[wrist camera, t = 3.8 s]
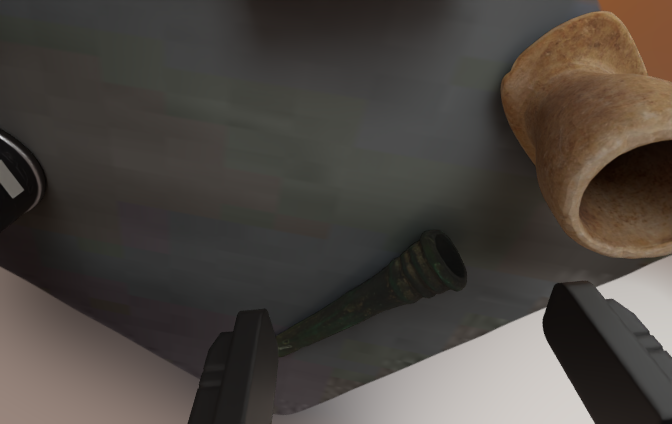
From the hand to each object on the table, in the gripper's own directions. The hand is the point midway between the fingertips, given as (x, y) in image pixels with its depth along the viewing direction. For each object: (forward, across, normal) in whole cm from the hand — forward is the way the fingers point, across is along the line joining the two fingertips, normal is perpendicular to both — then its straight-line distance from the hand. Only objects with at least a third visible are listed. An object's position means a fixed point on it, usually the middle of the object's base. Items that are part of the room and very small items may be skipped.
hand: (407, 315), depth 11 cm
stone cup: (+24, -18, +5) cm, 30 cm away
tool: (+24, +2, +26) cm, 35 cm away
